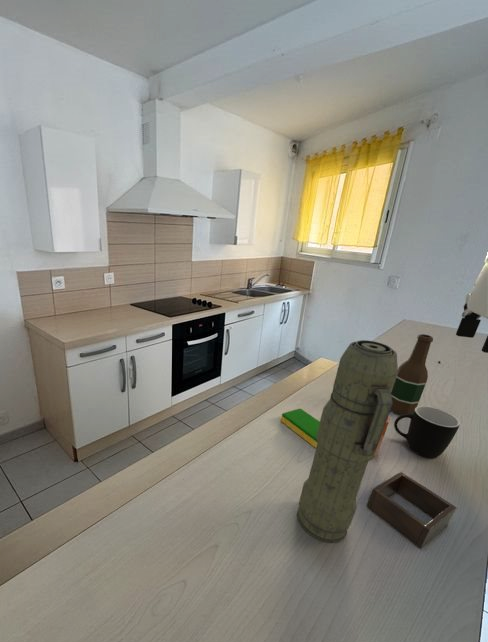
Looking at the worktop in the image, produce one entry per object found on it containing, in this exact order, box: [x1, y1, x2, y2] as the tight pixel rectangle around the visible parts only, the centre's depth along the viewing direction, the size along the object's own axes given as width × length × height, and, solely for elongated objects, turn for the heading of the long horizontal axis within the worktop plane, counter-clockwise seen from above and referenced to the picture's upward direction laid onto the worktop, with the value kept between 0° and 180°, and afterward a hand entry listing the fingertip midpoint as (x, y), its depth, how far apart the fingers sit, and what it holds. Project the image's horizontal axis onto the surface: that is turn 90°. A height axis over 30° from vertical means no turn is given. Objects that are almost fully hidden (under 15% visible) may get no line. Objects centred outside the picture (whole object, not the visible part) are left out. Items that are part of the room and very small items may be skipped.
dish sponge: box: [280, 408, 320, 449], centre depth 85 cm, size 7×14×2 cm, turn 28°
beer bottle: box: [390, 333, 434, 416], centre depth 94 cm, size 8×8×24 cm
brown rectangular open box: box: [366, 471, 457, 549], centre depth 61 cm, size 10×10×4 cm
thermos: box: [296, 339, 399, 544], centre depth 53 cm, size 9×12×35 cm
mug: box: [393, 405, 461, 459], centre depth 80 cm, size 12×9×10 cm
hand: (476, 344), depth 65 cm, fingers open, 9 cm apart
